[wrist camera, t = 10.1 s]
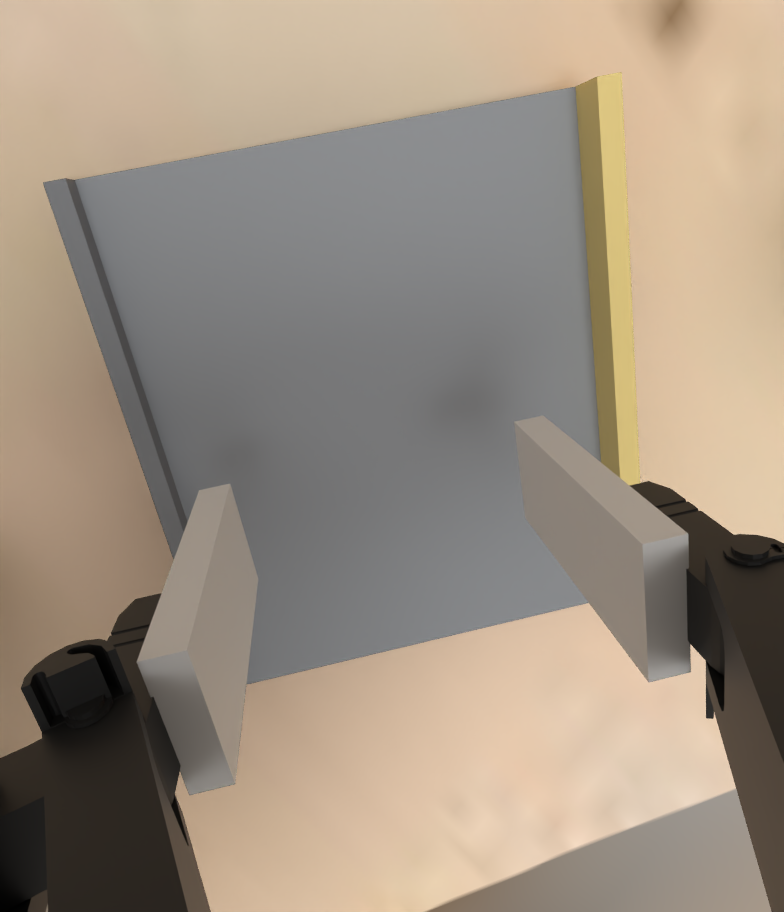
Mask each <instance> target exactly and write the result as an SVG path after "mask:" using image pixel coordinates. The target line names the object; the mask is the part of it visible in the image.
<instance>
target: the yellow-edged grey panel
mask: <svg viewBox="0 0 784 912" xmlns="http://www.w3.org/2000/svg"><path fill="white" fill-rule="evenodd" d="M43 184H44V187H45V190H46V193H47V196H48V199H49V202H50V205H51V208H52V210H53V213H54V216H55V219H56V222H57V225H58V228H59V231H60V234H61V236H62V239H63V242H64V245H65V248H66V251H67V254H68V257H69V259H70V262H71V265H72V268H73V271H74V274H75V277H76V280H77V283H78V285H79V288H80V291H81V294H82V297H83V300H84V303H85V306H86V308H87V311H88V314H89V317H90V320H91V323H92V326H93V329H94V332H95V334H96V337H97V340H98V343H99V346H100V349H101V352H102V355H103V357H104V360H105V363H106V366H107V369H108V372H109V375H110V378H111V381H112V383H113V386H114V389H115V392H116V395H117V398H118V401H119V404H120V406H121V409H122V412H123V415H124V418H125V421H126V424H127V427H128V430H129V432H130V435H131V438H132V441H133V444H134V447H135V450H136V453H137V455H138V458H139V461H140V464H141V467H142V470H143V473H144V476H145V479H146V481H147V484H148V487H149V490H150V493H151V496H152V499H153V502H154V504H155V507H156V510H157V513H158V516H159V519H160V522H161V525H162V528H163V530H164V533H165V536H166V539H167V542H168V545H169V548H170V551H171V553H172V556H173V559H174V558H175V555H176V552H177V550H178V547H179V544H180V541H181V539H182V536H183V533H184V531H185V528H186V525H187V522H188V520H189V517H190V514H191V511H192V509H193V506H194V503H195V500H196V498H197V495H198V492H199V490H203V489H207V488H212V487H216V486H221V485H226V484H230V485H231V488H232V492H233V495H234V498H235V502H236V505H237V508H238V512H239V515H240V519H241V522H242V525H243V529H244V532H245V535H246V539H247V542H248V546H249V549H250V552H251V556H252V559H253V562H254V566H255V569H256V573H257V576H258V586H257V595H256V604H255V612H254V621H253V630H252V639H251V648H250V657H249V666H248V675H247V684H251V683H255V682H259V681H263V680H267V679H272V678H276V677H280V676H284V675H288V674H292V673H297V672H301V671H305V670H309V669H313V668H318V667H322V666H326V665H330V664H334V663H339V662H343V661H347V660H351V659H355V658H359V657H364V656H368V655H372V654H376V653H380V652H385V651H389V650H393V649H397V648H401V647H406V646H410V645H414V644H418V643H422V642H426V641H431V640H435V639H439V638H443V637H447V636H452V635H456V634H460V633H464V632H468V631H473V630H477V629H481V628H485V627H489V626H493V625H498V624H502V623H506V622H510V621H514V620H519V619H523V618H527V617H531V616H535V615H539V614H544V613H548V612H552V611H556V610H560V609H565V608H569V607H573V606H577V605H581V604H586V603H589V602H588V601H587V599H586V598H585V597H584V595H583V594H582V593H581V592H580V590H579V589H578V588H577V586H576V585H575V584H574V582H573V581H572V580H571V578H570V577H569V576H568V574H567V573H566V572H565V570H564V569H563V568H562V566H561V565H560V564H559V562H558V561H557V560H556V558H555V557H554V556H553V554H552V553H551V552H550V550H549V549H548V548H547V546H546V545H545V544H544V542H543V541H542V540H541V538H540V537H539V536H538V534H537V533H536V532H535V530H534V529H533V528H532V526H531V525H530V524H529V522H528V521H527V520H526V518H525V511H524V503H523V494H522V486H521V477H520V469H519V460H518V452H517V443H516V435H515V426H514V422H515V421H520V420H524V419H529V418H534V417H538V416H544V417H546V418H547V419H548V420H549V421H551V422H552V423H553V424H554V425H555V426H557V427H558V428H559V429H560V430H562V431H563V432H564V433H565V434H567V435H568V436H569V437H570V438H571V439H573V440H574V441H575V442H576V443H578V444H579V445H580V446H581V447H583V448H584V449H585V450H586V451H587V452H589V453H590V454H591V455H592V456H594V457H595V458H596V459H597V460H598V461H600V462H601V463H602V464H603V465H605V466H606V467H607V468H608V469H610V470H611V471H612V472H613V473H614V474H616V475H617V476H618V477H619V478H621V479H622V480H623V481H624V482H625V483H627V484H628V485H629V486H630V485H634V484H639V483H640V470H639V448H638V426H637V404H636V382H635V360H634V338H633V316H632V293H631V271H630V249H629V227H628V205H627V183H626V161H625V139H624V117H623V95H622V73H621V72H620V73H614V74H609V75H603V76H598V77H595V78H593V79H591V80H589V81H587V82H585V83H582V84H580V85H578V86H576V87H572V88H566V89H561V90H556V91H550V92H545V93H539V94H534V95H529V96H523V97H518V98H513V99H507V100H502V101H496V102H491V103H486V104H480V105H475V106H470V107H464V108H459V109H453V110H448V111H443V112H437V113H432V114H427V115H421V116H416V117H410V118H405V119H400V120H394V121H389V122H384V123H378V124H373V125H368V126H362V127H357V128H351V129H346V130H341V131H335V132H330V133H325V134H319V135H314V136H308V137H303V138H298V139H292V140H287V141H282V142H276V143H271V144H265V145H260V146H255V147H249V148H244V149H239V150H233V151H228V152H222V153H217V154H212V155H206V156H201V157H196V158H190V159H185V160H179V161H174V162H169V163H163V164H158V165H153V166H147V167H142V168H136V169H131V170H126V171H120V172H115V173H110V174H104V175H99V176H93V177H88V178H83V179H77V180H72V179H66V178H65V179H60V180H54V181H49V182H43Z"/></svg>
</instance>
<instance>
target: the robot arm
mask: <svg viewBox="0 0 784 912" xmlns="http://www.w3.org/2000/svg"><path fill="white" fill-rule="evenodd" d="M514 426H515V435H516V443H517V452H518V460H519V469H520V477H521V486H522V494H523V503H524V511H525V518H526V520H527V521H528V522H529V524H530V525H531V526H532V528H533V529H534V530H535V532H536V533H537V534H538V536H539V537H540V538H541V540H542V541H543V542H544V544H545V545H546V546H547V548H548V549H549V550H550V552H551V553H552V554H553V556H554V557H555V558H556V560H557V561H558V562H559V564H560V565H561V566H562V568H563V569H564V570H565V572H566V573H567V574H568V576H569V577H570V578H571V580H572V581H573V582H574V584H575V585H576V586H577V588H578V589H579V590H580V592H581V593H582V594H583V595H584V597H585V598H586V599H587V601H588V602H589V603H590V605H591V606H592V607H593V609H594V610H595V611H596V613H597V614H598V615H599V617H600V618H601V619H602V621H603V622H604V623H605V625H606V626H607V627H608V629H609V630H610V631H611V633H612V634H613V635H614V637H615V638H616V639H617V641H618V642H619V643H620V645H621V646H622V647H623V649H624V650H625V651H626V653H627V654H628V655H629V657H630V658H631V659H632V661H633V662H634V663H635V665H636V666H637V667H638V669H639V670H640V671H641V673H642V674H643V675H644V677H645V678H646V679H647V681H648V682H652V681H656V680H660V679H665V678H669V677H673V676H677V675H681V674H685V673H689V672H691V664H690V644H691V645H692V646H693V647H694V648H695V649H696V650H697V651H698V652H699V654H700V655H701V656H702V657H703V658H704V659H705V660H706V718H712V719H713V717H714V712H715V716H716V719H717V723H718V726H719V730H720V733H721V737H722V740H723V744H724V747H725V751H726V754H727V758H728V761H729V765H730V768H731V771H732V775H733V778H734V782H735V785H736V789H737V792H738V796H739V799H740V803H741V806H742V810H743V813H744V816H745V820H746V824H747V827H748V831H749V834H750V838H751V841H752V844H753V848H754V851H755V855H756V858H757V862H758V865H759V869H760V872H761V876H762V879H763V883H764V886H765V889H766V893H767V897H768V900H769V904H770V907H771V911H772V912H784V543H781V542H779V541H777V540H775V539H772V538H768V537H763V536H759V535H745V534H738V535H733V534H732V533H731V532H729V531H728V530H726V529H725V528H724V527H722V526H721V525H720V524H718V523H717V522H716V521H714V520H713V519H711V518H710V517H709V516H707V515H706V514H705V513H703V512H702V511H698V508H696V507H695V506H694V505H692V504H691V503H690V502H686V500H685V499H684V498H683V497H681V496H680V495H679V494H677V493H676V492H675V491H673V490H672V489H670V488H667V487H664V486H661V485H658V484H655V483H652V482H649V481H647V482H643V483H639V484H634V485H630V486H629V485H628V484H627V483H625V482H624V481H623V480H622V479H621V478H619V477H618V476H617V475H616V474H614V473H613V472H612V471H611V470H610V469H608V468H607V467H606V466H605V465H603V464H602V463H601V462H600V461H598V460H597V459H596V458H595V457H594V456H592V455H591V454H590V453H589V452H587V451H586V450H585V449H584V448H583V447H581V446H580V445H579V444H578V443H576V442H575V441H574V440H573V439H571V438H570V437H569V436H568V435H567V434H565V433H564V432H563V431H562V430H560V429H559V428H558V427H557V426H555V425H554V424H553V423H552V422H551V421H549V420H548V419H547V418H546V417H544V416H538V417H534V418H529V419H524V420H520V421H515V422H514ZM257 586H258V576H257V573H256V569H255V566H254V562H253V559H252V556H251V552H250V549H249V546H248V542H247V539H246V535H245V532H244V529H243V525H242V522H241V519H240V515H239V512H238V508H237V505H236V502H235V498H234V495H233V492H232V488H231V485H230V484H226V485H221V486H216V487H212V488H207V489H203V490H199V492H198V495H197V498H196V500H195V503H194V506H193V509H192V511H191V514H190V517H189V520H188V522H187V525H186V528H185V531H184V533H183V536H182V539H181V541H180V544H179V547H178V550H177V552H176V555H175V558H174V561H173V563H172V566H171V569H170V572H169V574H168V577H167V580H166V583H165V585H164V588H163V591H162V593H161V594H156V595H152V596H148V597H143V598H139V599H135V600H134V601H133V602H132V603H131V604H130V605H129V606H128V607H127V608H126V609H125V610H124V611H123V612H122V613H121V614H120V615H119V617H118V619H117V621H116V623H115V625H114V628H113V630H112V632H111V635H112V636H110V637H109V639H108V641H105V640H101V639H95V640H85V641H81V642H78V643H75V644H72V645H69V646H66V647H64V648H62V649H60V650H58V651H56V652H54V653H52V654H50V655H49V656H47V657H46V658H45V659H43V660H42V661H41V662H39V663H38V664H37V665H35V666H34V667H33V669H32V670H31V671H30V672H29V673H28V674H27V675H26V677H25V678H24V681H23V684H22V687H21V690H22V692H23V694H24V696H25V698H26V700H27V702H28V704H29V706H30V708H31V710H32V712H33V714H34V717H35V719H36V721H37V723H38V725H39V727H40V729H41V731H42V739H40V740H38V741H36V742H35V743H33V744H31V745H29V746H27V747H25V748H22V749H20V750H18V751H16V752H13V753H11V754H9V755H7V756H4V757H2V758H0V912H46V909H47V905H48V912H211V911H210V908H209V904H208V901H207V897H206V894H205V890H204V887H203V883H202V880H201V876H200V873H199V869H198V866H197V862H196V859H195V855H194V852H193V848H192V845H191V841H190V838H189V834H188V831H187V827H186V824H185V820H184V817H183V813H182V811H181V808H180V806H179V803H178V801H177V798H176V796H175V790H176V786H177V781H178V776H179V772H180V773H181V775H182V778H183V780H184V783H185V785H186V788H187V790H188V793H189V795H193V794H197V793H201V792H205V791H209V790H213V789H217V788H221V787H225V786H230V785H234V784H235V782H236V773H237V764H238V755H239V746H240V737H241V728H242V719H243V710H244V702H245V693H246V684H247V675H248V666H249V657H250V648H251V639H252V630H253V621H254V612H255V604H256V595H257Z"/></svg>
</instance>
